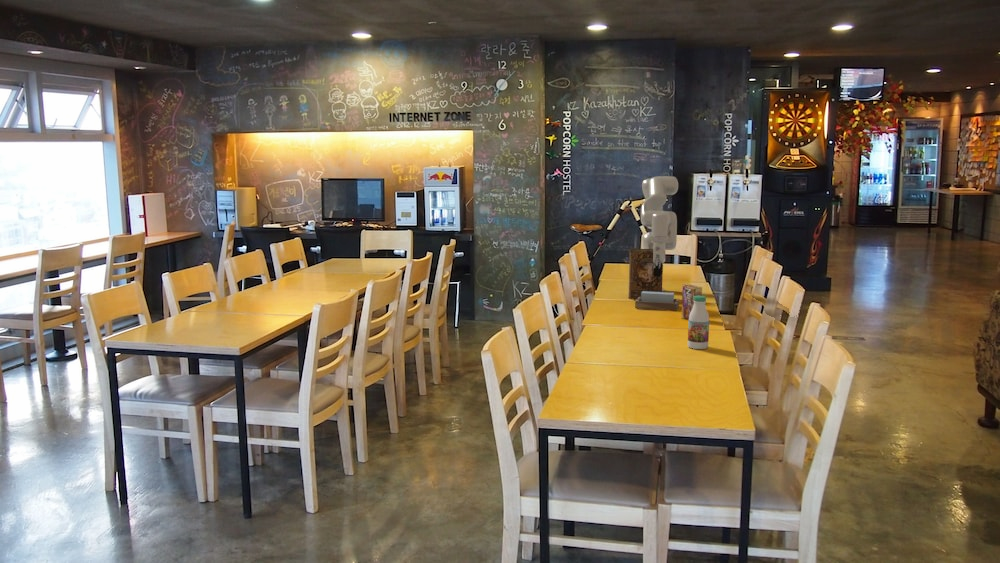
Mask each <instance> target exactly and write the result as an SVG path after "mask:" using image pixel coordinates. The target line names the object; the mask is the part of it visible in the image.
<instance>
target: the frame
mask: <svg viewBox="0 0 1000 563" xmlns="http://www.w3.org/2000/svg"><path fill="white" fill-rule="evenodd" d="M634 304H635V305H634V309H635V308H637V309H636V310H650V309H653V310H652V311H667V310H670V312H672V311H673V312H677V311H678V310H679V309H678V308H679V307H680V298H674V303H664V302H645V301H641V297H638V298H637V299H635V301H634Z"/></svg>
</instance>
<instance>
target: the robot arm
mask: <svg viewBox="0 0 1000 563" xmlns="http://www.w3.org/2000/svg"><path fill="white" fill-rule="evenodd" d="M641 189H642V194H643V196H644V198H645V201H643V203H642V204H641V206H640V222H641V224H642V226H644V227H647V229H650V230H651V231H649V232H648V231H647V232H645V233H644V234H643V235H642V249H653V263H654V276H655V277H660V276H661V273H663V271H664V263H665V262H666V251H673V250H675V249H676V247H677V242H678V240H677V239H678V237H677V236H678V235H677V234H678V232H677V230H678V219H677V218H678V217H677V214H676V212H674V211H667V210H663V208H664V205H665V204H666V203H667V200H668V199H667V196H673V195H675V194H676V193H677V192H678V190H679V182H678V179H677V177H676V176H664V175H661V176H659V175H657V176H653V177H651V178H646V179H644V180H642V183H641ZM664 291H665V289H664V288H663V287H662V292H664Z"/></svg>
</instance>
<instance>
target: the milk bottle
mask: <svg viewBox="0 0 1000 563" xmlns="http://www.w3.org/2000/svg"><path fill="white" fill-rule="evenodd" d="M693 302H694V306H693V308H692V310H691V312H690V315H689V320H688V322H687V323H688V324H687V325H688V327H687V328H688V329H687V347H688V348H689V347H690V348H689V349H692V348H693V349H692V350H706V348H707V349H708V348H709V339H710V338H709V337H710V336H709V334H710V315H709V312H708V310H707V306H706V303H707V297H706V296H705V295H702V296H694V301H693Z"/></svg>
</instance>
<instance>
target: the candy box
mask: <svg viewBox="0 0 1000 563" xmlns="http://www.w3.org/2000/svg"><path fill="white" fill-rule="evenodd" d="M694 296H703V287H702V286H698V285H693V284H689V283H688V284H683V285H682V297H681V319H683V318H684V319H683V320H687V319H688V321H689V315H690V312H691V310H692V308H693V306H694V302H693V301H694Z"/></svg>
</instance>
